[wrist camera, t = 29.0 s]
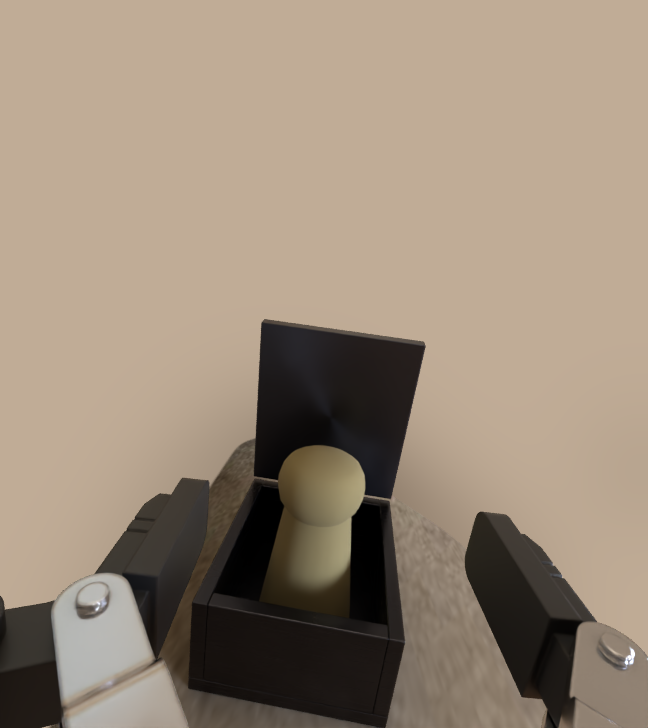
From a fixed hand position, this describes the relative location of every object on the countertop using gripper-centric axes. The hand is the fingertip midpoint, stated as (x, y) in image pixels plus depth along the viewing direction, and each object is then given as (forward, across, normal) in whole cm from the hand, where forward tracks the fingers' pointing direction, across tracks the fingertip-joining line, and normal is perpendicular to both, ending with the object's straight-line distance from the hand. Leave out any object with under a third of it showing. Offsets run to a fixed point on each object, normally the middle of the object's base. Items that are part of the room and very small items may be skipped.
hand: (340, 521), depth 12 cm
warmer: (+11, 0, +16) cm, 19 cm away
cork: (+11, 0, +15) cm, 18 cm away
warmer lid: (+15, -1, +3) cm, 16 cm away
